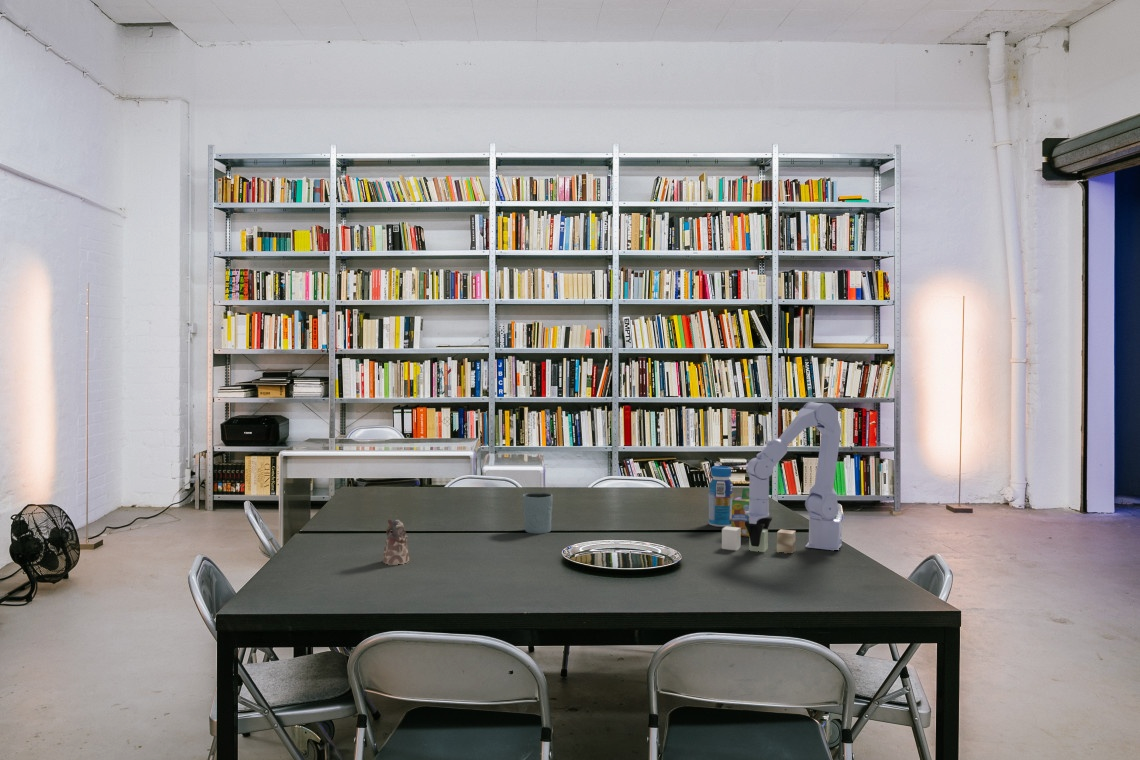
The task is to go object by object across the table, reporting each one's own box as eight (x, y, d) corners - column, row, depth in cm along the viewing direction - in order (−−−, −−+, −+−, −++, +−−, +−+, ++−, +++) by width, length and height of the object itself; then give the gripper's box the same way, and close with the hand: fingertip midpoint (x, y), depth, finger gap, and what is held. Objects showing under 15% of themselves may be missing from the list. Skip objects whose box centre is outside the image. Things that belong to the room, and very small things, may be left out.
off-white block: (740, 547, 233) (740, 527, 233) (736, 550, 229) (736, 530, 229) (726, 545, 235) (726, 526, 235) (721, 548, 231) (721, 529, 231)
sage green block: (767, 549, 231) (767, 529, 231) (764, 552, 227) (764, 532, 227) (752, 547, 233) (753, 527, 233) (749, 550, 229) (749, 530, 229)
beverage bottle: (703, 524, 265) (703, 466, 264) (719, 521, 270) (720, 464, 269) (721, 528, 258) (722, 469, 257) (738, 525, 263) (738, 467, 262)
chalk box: (730, 535, 248) (731, 490, 248) (738, 529, 257) (738, 485, 256) (759, 538, 244) (759, 492, 244) (765, 532, 252) (766, 488, 252)
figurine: (396, 566, 209) (396, 523, 209) (377, 563, 213) (377, 520, 213) (414, 561, 215) (414, 518, 215) (395, 557, 219) (395, 515, 219)
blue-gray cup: (540, 535, 247) (541, 498, 247) (516, 531, 253) (516, 495, 252) (558, 529, 255) (558, 493, 255) (534, 525, 261) (534, 490, 261)
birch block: (795, 550, 229) (795, 530, 229) (792, 554, 225) (792, 533, 225) (780, 548, 231) (780, 529, 231) (776, 552, 227) (777, 532, 227)
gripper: (751, 493, 238) (751, 536, 238) (739, 500, 225) (738, 546, 225) (774, 495, 234) (774, 539, 235) (763, 503, 222) (762, 549, 222)
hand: (758, 543), depth 230 cm, fingers open, 7 cm apart
